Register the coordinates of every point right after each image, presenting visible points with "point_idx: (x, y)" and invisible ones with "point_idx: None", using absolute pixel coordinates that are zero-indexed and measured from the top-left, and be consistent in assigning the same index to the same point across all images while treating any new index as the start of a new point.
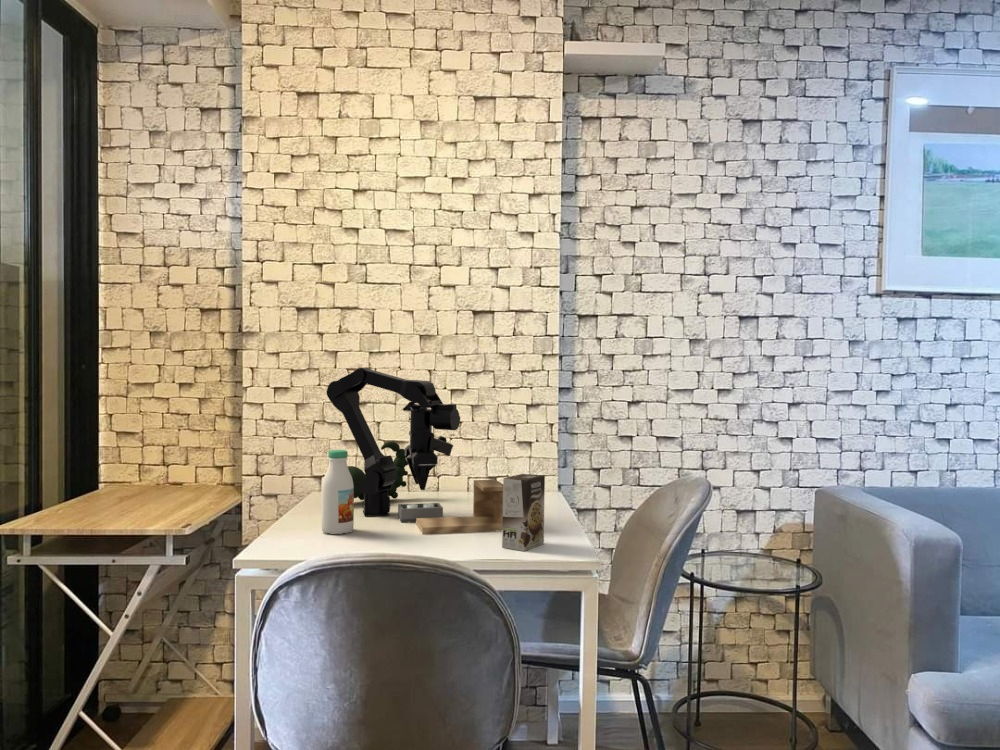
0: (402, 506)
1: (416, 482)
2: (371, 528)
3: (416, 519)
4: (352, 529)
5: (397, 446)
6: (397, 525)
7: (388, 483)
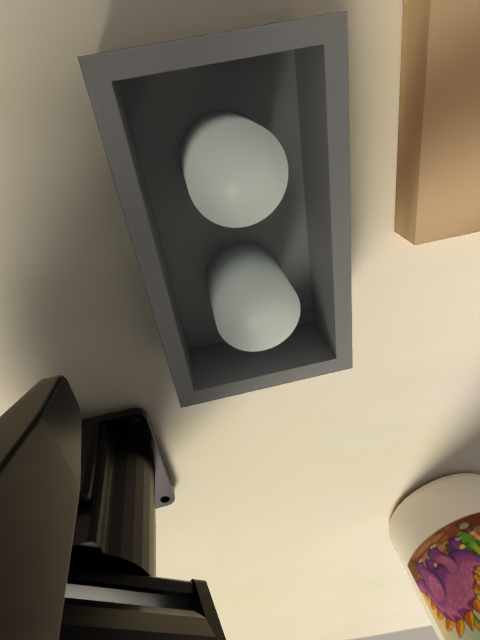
0: (189, 372)
1: (75, 421)
2: (423, 423)
3: (420, 241)
4: (476, 477)
5: None
6: (389, 329)
7: (126, 613)
